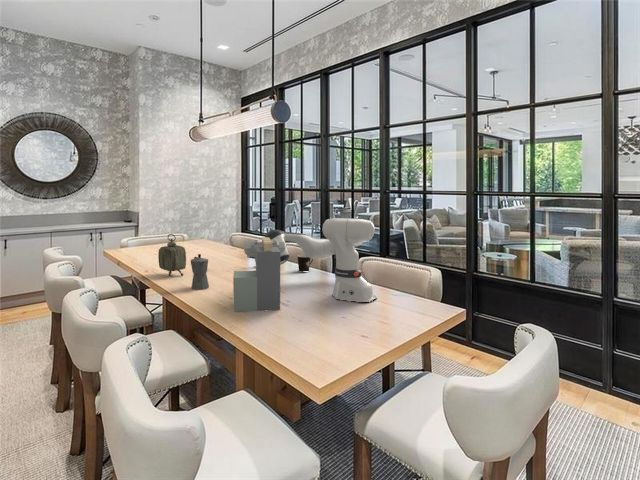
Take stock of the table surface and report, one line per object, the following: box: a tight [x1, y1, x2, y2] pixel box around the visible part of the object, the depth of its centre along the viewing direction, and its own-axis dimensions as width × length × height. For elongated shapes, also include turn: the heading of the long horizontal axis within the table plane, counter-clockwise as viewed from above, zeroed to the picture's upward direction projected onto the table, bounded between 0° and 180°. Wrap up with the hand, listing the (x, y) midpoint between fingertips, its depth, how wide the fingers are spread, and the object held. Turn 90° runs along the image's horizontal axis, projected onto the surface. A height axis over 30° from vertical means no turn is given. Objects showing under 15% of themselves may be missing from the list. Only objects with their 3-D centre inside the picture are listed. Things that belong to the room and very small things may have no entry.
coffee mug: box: [297, 254, 314, 272], centre depth 256 cm, size 12×9×10 cm
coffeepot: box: [190, 253, 210, 291], centre depth 211 cm, size 15×9×18 cm, turn 34°
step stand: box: [232, 247, 281, 313], centre depth 179 cm, size 14×20×26 cm
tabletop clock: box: [157, 233, 187, 277], centre depth 236 cm, size 14×9×25 cm, turn 58°
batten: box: [261, 236, 273, 251], centre depth 183 cm, size 20×4×4 cm, turn 11°
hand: (265, 241), depth 189 cm, fingers open, 8 cm apart
